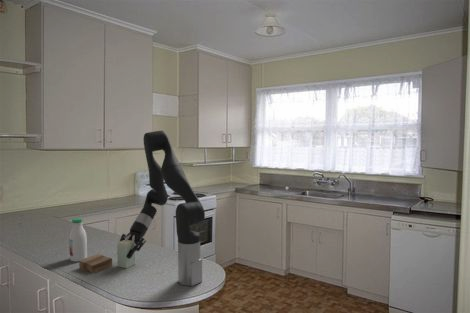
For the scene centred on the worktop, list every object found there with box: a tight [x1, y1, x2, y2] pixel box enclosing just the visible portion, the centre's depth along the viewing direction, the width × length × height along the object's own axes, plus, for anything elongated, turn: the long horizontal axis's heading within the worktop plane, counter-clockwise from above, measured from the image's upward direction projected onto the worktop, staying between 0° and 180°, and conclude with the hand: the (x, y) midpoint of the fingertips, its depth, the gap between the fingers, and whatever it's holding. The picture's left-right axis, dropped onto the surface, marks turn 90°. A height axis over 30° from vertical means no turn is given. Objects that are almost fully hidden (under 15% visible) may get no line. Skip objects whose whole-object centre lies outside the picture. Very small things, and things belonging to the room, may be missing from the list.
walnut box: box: [78, 253, 113, 274], centre depth 162 cm, size 10×10×4 cm
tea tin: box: [116, 240, 136, 269], centre depth 163 cm, size 5×5×11 cm
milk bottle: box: [68, 217, 88, 262], centre depth 171 cm, size 8×8×20 cm
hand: (123, 256), depth 162 cm, fingers closed on tea tin, 5 cm apart
